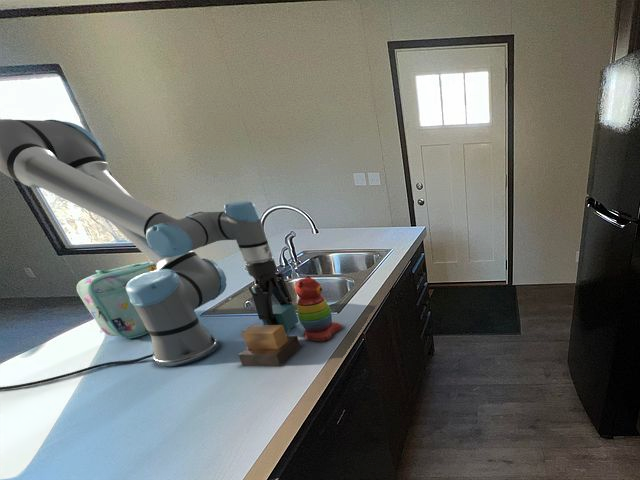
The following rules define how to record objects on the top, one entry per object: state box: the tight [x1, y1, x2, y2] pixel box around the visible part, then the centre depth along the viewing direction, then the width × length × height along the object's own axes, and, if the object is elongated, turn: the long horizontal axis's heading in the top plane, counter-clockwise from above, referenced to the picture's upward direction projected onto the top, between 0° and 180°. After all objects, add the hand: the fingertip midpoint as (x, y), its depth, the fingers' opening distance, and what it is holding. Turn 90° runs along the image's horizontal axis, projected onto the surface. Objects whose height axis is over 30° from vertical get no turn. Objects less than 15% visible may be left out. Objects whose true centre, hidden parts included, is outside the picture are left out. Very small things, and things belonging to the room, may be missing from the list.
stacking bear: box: [294, 275, 343, 342], centre depth 114 cm, size 11×10×18 cm
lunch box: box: [76, 260, 157, 339], centre depth 123 cm, size 27×10×21 cm, turn 158°
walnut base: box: [237, 335, 301, 367], centre depth 106 cm, size 11×11×4 cm
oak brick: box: [241, 324, 288, 349], centre depth 104 cm, size 9×5×5 cm, turn 85°
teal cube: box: [261, 304, 300, 332], centre depth 118 cm, size 7×7×6 cm
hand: (284, 331), depth 120 cm, fingers closed on teal cube, 7 cm apart
